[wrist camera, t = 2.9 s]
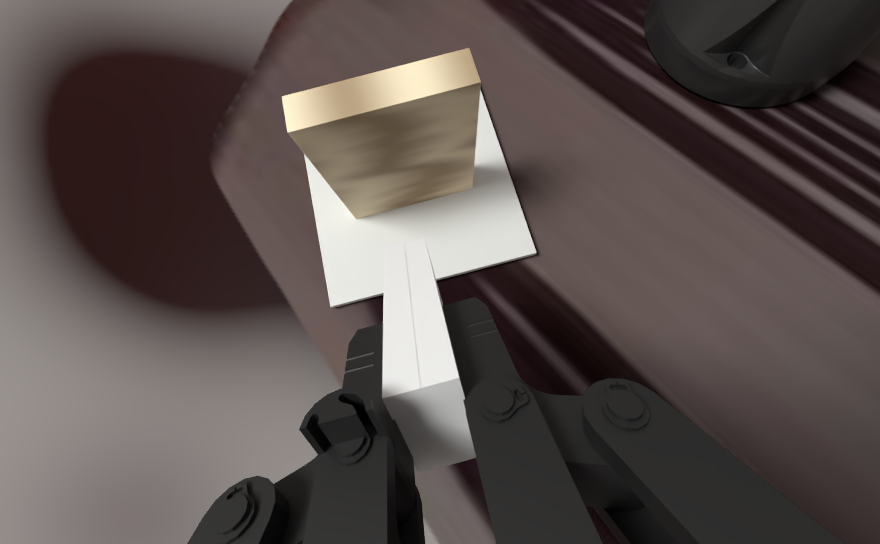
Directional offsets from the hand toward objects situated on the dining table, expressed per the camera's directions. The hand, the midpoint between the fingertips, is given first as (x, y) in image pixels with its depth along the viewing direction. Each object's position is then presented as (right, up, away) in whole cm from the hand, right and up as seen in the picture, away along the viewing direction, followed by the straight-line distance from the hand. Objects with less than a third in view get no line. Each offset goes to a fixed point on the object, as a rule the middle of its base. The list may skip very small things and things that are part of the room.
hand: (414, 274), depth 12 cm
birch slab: (-1, +6, +12) cm, 14 cm away
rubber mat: (-2, +8, +13) cm, 16 cm away
